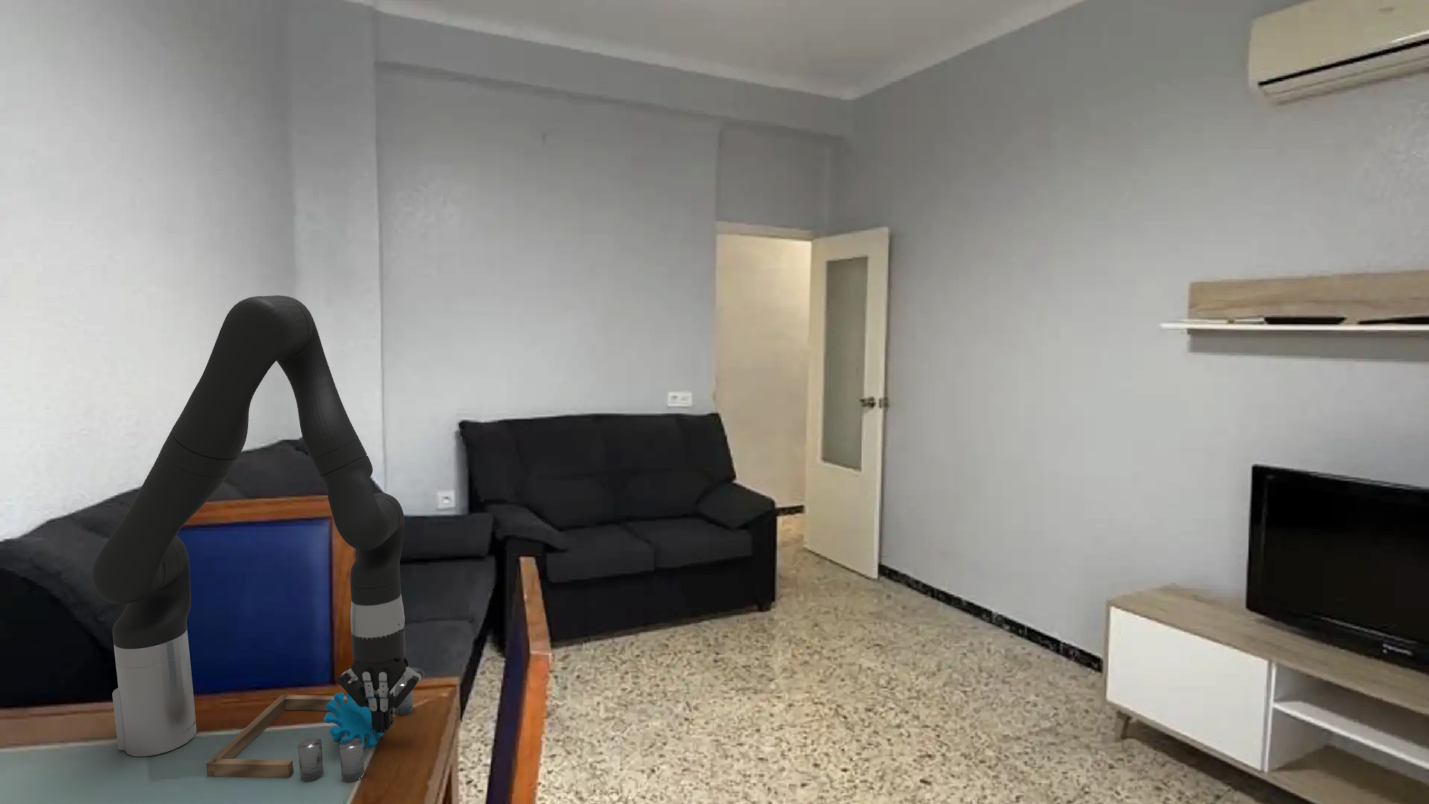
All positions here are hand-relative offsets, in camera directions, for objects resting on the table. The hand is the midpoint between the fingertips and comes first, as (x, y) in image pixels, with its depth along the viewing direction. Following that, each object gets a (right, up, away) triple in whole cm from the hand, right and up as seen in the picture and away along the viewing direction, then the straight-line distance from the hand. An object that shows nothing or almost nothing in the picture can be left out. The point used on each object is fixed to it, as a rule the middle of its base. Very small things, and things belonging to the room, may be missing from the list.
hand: (383, 730), depth 124 cm
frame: (-16, -2, +1) cm, 16 cm away
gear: (-4, -2, +1) cm, 5 cm away
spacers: (-4, -2, 0) cm, 4 cm away
